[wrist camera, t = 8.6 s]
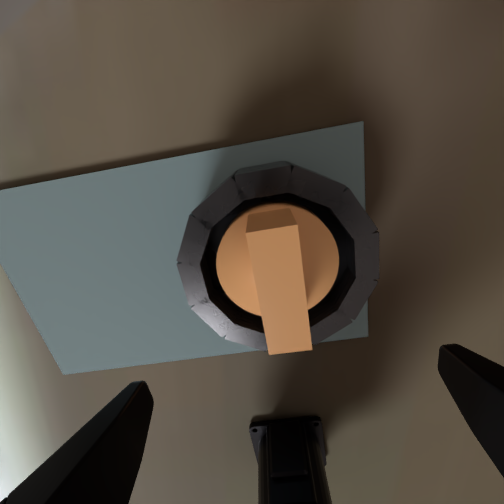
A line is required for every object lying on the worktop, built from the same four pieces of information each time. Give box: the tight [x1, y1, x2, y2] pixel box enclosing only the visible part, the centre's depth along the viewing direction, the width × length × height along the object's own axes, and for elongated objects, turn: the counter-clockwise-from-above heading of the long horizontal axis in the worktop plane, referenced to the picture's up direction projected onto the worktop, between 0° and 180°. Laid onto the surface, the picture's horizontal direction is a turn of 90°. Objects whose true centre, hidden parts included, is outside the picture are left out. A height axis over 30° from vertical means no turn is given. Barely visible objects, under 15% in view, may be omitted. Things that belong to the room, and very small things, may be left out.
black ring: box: [176, 161, 379, 352], centre depth 16 cm, size 10×10×4 cm
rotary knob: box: [216, 200, 339, 355], centre depth 13 cm, size 6×6×4 cm
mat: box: [0, 121, 368, 375], centre depth 19 cm, size 15×25×1 cm, turn 100°
